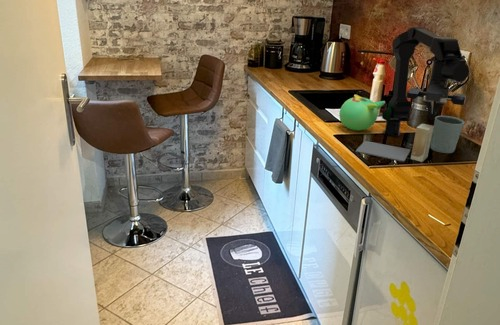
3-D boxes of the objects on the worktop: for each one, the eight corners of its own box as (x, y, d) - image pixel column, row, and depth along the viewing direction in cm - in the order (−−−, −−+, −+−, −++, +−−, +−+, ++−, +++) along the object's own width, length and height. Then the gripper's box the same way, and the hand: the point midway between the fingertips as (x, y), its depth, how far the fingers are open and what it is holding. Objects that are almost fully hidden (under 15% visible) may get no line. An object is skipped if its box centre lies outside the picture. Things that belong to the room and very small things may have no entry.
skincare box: (415, 154, 151) (422, 122, 146) (427, 157, 149) (434, 125, 144) (409, 159, 146) (416, 126, 142) (422, 162, 144) (428, 129, 139)
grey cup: (433, 142, 163) (439, 114, 159) (460, 149, 157) (467, 119, 153) (425, 149, 156) (431, 119, 151) (453, 156, 150) (460, 125, 145)
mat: (364, 141, 162) (364, 140, 162) (410, 150, 155) (410, 149, 154) (355, 151, 152) (355, 150, 152) (404, 161, 144) (404, 160, 144)
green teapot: (344, 120, 188) (348, 89, 182) (381, 127, 181) (387, 94, 175) (332, 131, 173) (336, 97, 168) (372, 138, 166) (377, 103, 160)
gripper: (406, 76, 138) (399, 120, 144) (467, 83, 129) (456, 130, 135) (413, 72, 147) (406, 113, 153) (470, 78, 138) (460, 122, 144)
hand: (431, 119), depth 146 cm, fingers closed
